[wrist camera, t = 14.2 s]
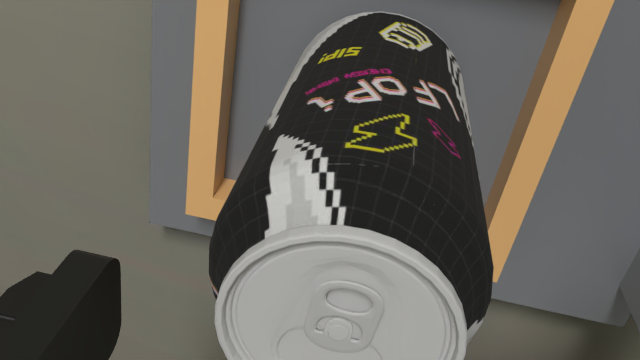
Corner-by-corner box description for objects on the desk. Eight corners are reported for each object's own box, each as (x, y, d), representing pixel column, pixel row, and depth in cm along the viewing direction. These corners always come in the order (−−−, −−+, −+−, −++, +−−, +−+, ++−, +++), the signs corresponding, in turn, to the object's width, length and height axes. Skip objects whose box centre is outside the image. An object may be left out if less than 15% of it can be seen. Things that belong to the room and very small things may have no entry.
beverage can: (487, 29, 19) (562, 259, 9) (433, 177, 22) (443, 475, 12) (314, -15, 19) (196, 164, 9) (283, 138, 22) (168, 402, 12)
